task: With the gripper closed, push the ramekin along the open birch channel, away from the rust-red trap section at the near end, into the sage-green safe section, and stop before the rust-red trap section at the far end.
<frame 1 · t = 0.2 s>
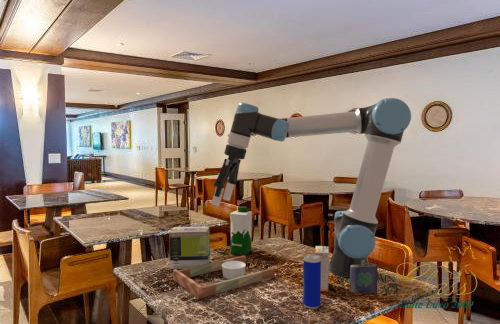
hand: (220, 202, 131), 27 cm above the table, tool tilted 15°, fingers open, 13 cm apart
supplement box: (321, 287, 123), on the table
milk carton: (240, 252, 162), on the table
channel: (225, 277, 131), on the table
flask: (363, 292, 119), on the table
tea box: (190, 265, 145), on the table
ramekin: (233, 276, 133), resting in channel
beverage can: (311, 306, 109), on the table
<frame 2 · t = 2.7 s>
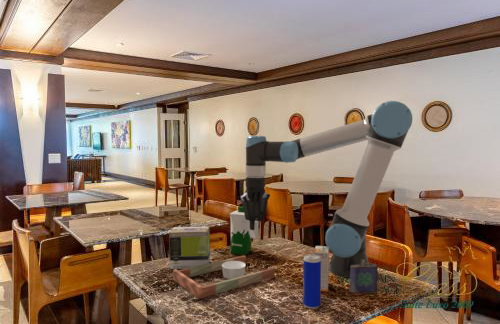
hand: (254, 237, 138), 13 cm above the table, tool pointing down, fingers closed
nothing on the table moved.
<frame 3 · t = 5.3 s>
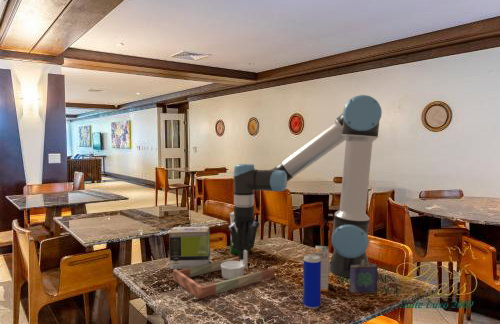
hand: (243, 267, 136), 2 cm above the table, tool pointing down, fingers closed
ramekin: (232, 276, 133), resting in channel, touching gripper
everything else where it was.
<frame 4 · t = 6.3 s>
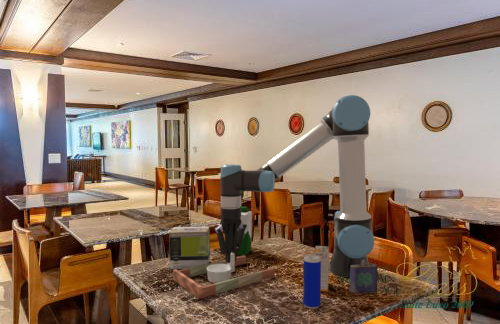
hand: (230, 270, 132), 2 cm above the table, tool pointing down, fingers closed
ramekin: (219, 280, 129), resting in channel, touching gripper
everything else where it was.
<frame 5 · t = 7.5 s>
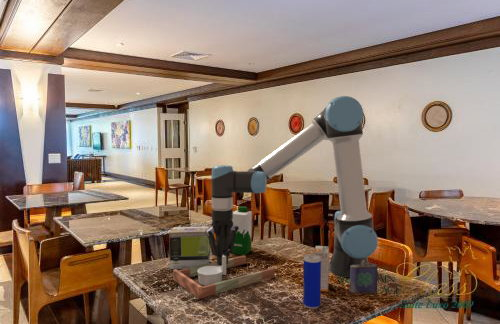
hand: (222, 273, 130), 2 cm above the table, tool pointing down, fingers closed
ramekin: (210, 282, 127), resting in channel, touching gripper
everything else where it was.
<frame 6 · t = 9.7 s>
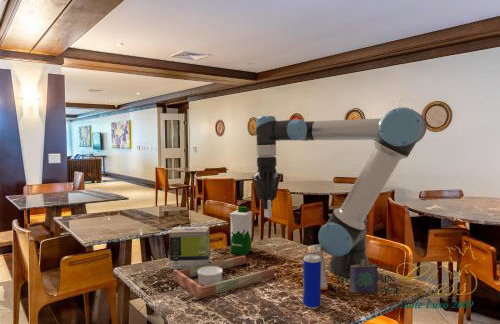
hand: (267, 217, 140), 20 cm above the table, tool pointing down, fingers closed
supplement box: (321, 285, 123), on the table, touching arm
ramekin: (210, 283, 127), resting in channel
everything else where it was.
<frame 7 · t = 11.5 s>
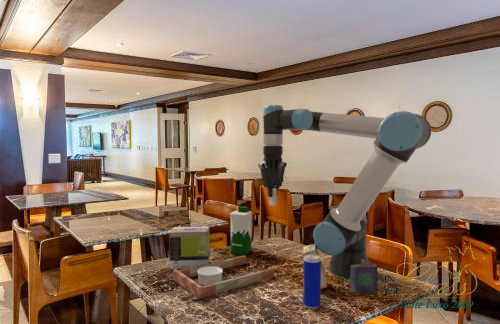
hand: (272, 204, 143), 24 cm above the table, tool pointing down, fingers closed
at the end: ramekin inside the target area (1.2 cm from its centre), resting in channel; ramekin tilted 0°; ramekin moved 10.1 cm from its start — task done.
